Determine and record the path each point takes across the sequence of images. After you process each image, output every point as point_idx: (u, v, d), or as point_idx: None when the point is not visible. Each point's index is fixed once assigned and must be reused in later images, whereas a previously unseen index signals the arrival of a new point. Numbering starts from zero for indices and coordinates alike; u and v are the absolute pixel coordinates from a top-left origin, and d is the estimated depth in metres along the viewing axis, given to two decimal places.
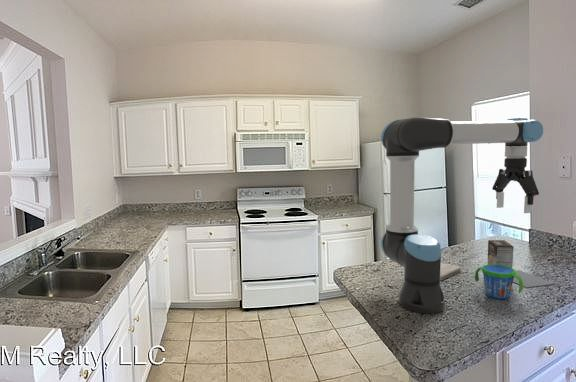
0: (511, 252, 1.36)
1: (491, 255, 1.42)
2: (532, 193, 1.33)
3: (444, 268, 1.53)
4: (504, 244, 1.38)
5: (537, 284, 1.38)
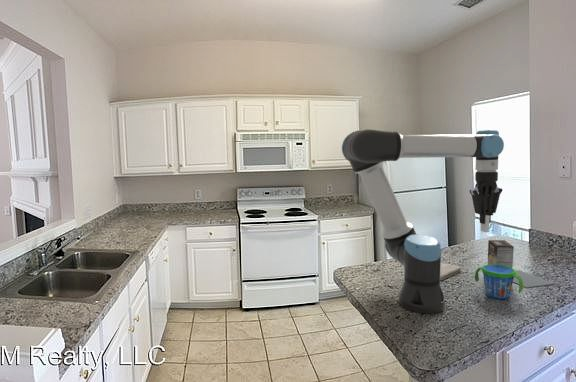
0: (511, 252, 1.36)
1: (491, 255, 1.42)
2: None
3: (444, 268, 1.53)
4: (504, 244, 1.38)
5: (537, 284, 1.38)
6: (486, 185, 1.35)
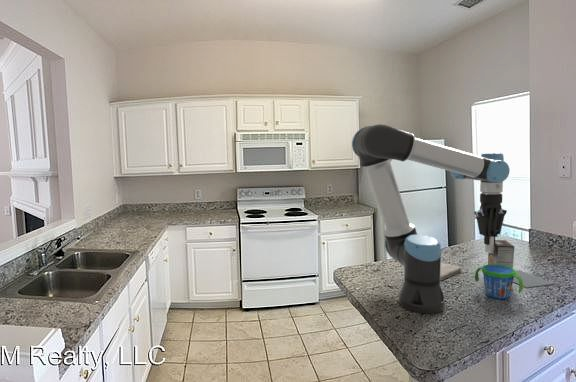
0: (512, 252, 1.36)
1: (491, 255, 1.41)
2: None
3: (444, 268, 1.53)
4: (505, 244, 1.38)
5: (537, 284, 1.38)
6: (491, 207, 1.36)
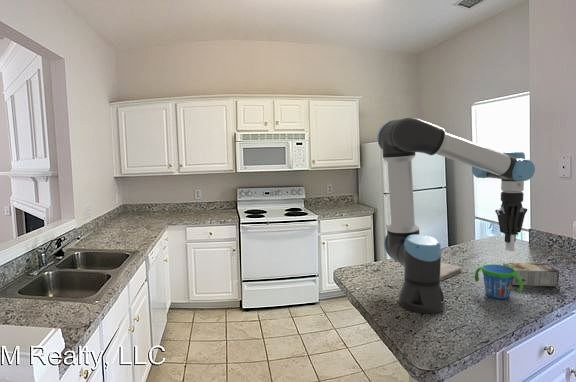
0: (551, 284, 1.35)
1: (538, 266, 1.39)
2: None
3: (445, 268, 1.53)
4: None
5: None
6: (512, 205, 1.38)
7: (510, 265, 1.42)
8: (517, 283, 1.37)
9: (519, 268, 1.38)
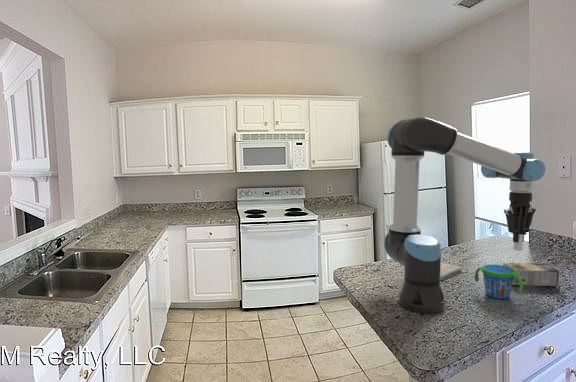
0: (551, 284, 1.35)
1: (538, 266, 1.39)
2: None
3: (445, 268, 1.53)
4: None
5: None
6: (520, 205, 1.39)
7: (510, 265, 1.42)
8: (517, 283, 1.37)
9: (519, 268, 1.38)
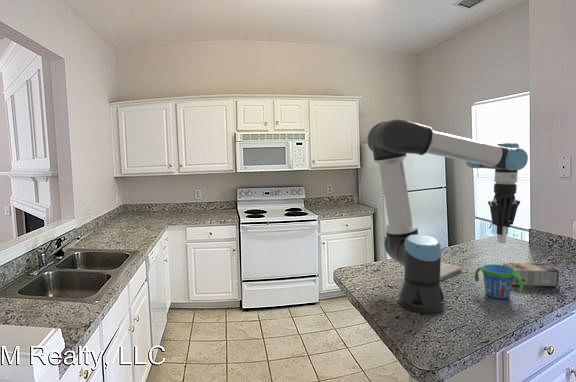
0: (551, 284, 1.35)
1: (538, 266, 1.39)
2: None
3: (445, 268, 1.53)
4: None
5: None
6: (505, 197, 1.37)
7: (510, 265, 1.42)
8: (517, 283, 1.37)
9: (519, 268, 1.38)
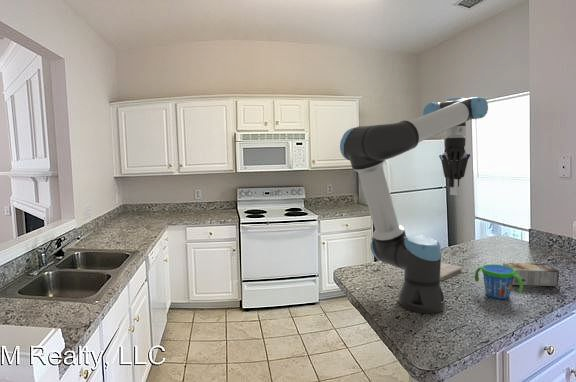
0: (551, 284, 1.35)
1: (538, 266, 1.39)
2: None
3: (445, 268, 1.53)
4: None
5: None
6: (454, 150, 1.44)
7: (510, 265, 1.42)
8: (517, 283, 1.37)
9: (519, 268, 1.38)
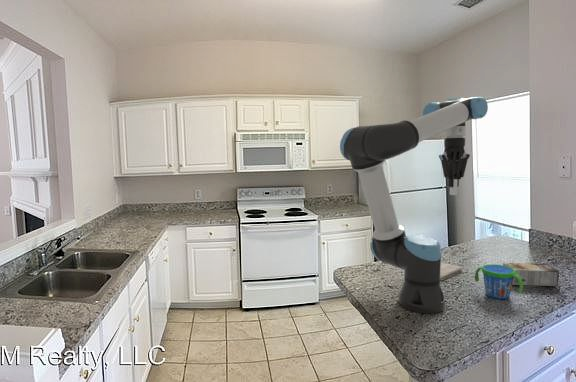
0: (551, 284, 1.35)
1: (538, 266, 1.39)
2: None
3: (445, 268, 1.53)
4: None
5: None
6: (454, 150, 1.44)
7: (510, 265, 1.42)
8: (517, 283, 1.37)
9: (519, 268, 1.38)
